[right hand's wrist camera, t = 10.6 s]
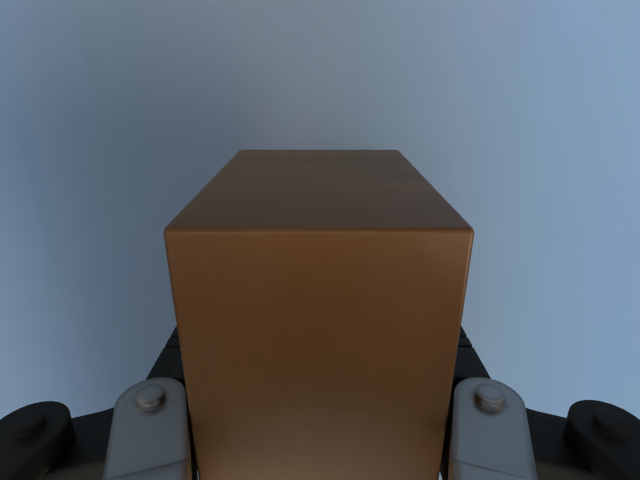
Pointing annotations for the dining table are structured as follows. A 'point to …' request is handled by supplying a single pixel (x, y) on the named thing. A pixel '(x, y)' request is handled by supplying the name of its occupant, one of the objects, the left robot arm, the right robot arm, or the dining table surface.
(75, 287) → the dining table surface
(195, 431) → the post
